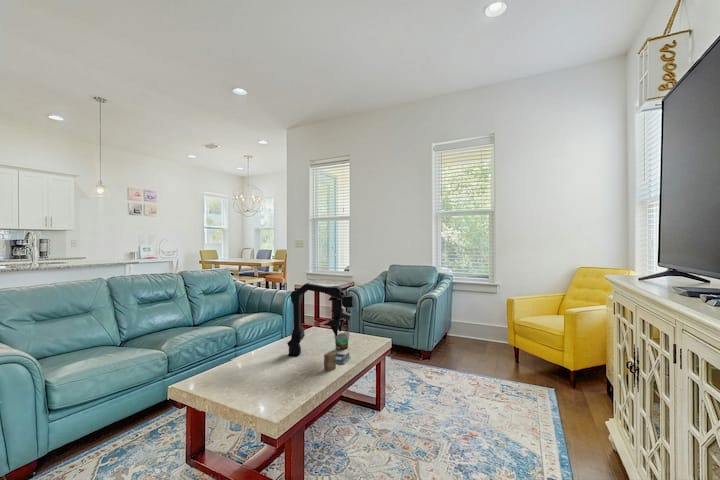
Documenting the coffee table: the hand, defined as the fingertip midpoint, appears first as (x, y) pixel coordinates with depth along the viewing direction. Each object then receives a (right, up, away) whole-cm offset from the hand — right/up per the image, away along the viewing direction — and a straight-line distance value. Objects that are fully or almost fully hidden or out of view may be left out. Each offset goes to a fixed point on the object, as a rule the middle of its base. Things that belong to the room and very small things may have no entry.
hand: (338, 333), depth 198 cm
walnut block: (-3, -15, -17) cm, 23 cm away
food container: (+3, -15, +17) cm, 23 cm away
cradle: (+1, -14, -4) cm, 15 cm away
